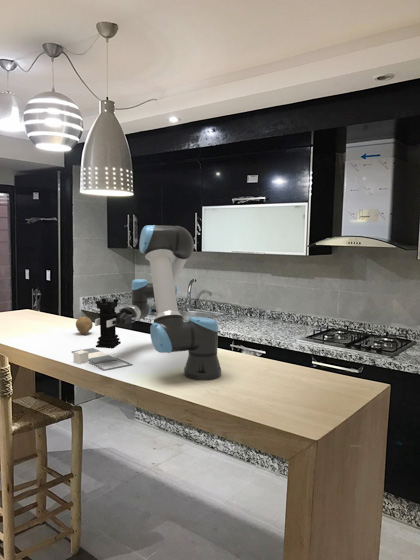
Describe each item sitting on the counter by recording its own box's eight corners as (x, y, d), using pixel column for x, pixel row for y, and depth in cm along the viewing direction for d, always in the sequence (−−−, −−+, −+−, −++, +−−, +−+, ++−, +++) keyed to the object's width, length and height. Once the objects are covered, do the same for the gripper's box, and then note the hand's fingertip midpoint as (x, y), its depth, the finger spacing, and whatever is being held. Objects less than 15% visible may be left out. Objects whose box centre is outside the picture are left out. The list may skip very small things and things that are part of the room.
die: (88, 362, 197) (88, 351, 196) (79, 364, 193) (79, 353, 193) (82, 360, 200) (82, 349, 199) (73, 362, 196) (73, 351, 196)
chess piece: (113, 348, 191) (111, 302, 187) (95, 347, 192) (94, 301, 189) (120, 343, 198) (119, 298, 195) (104, 342, 200) (102, 297, 197)
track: (117, 360, 201) (117, 358, 200) (94, 364, 193) (94, 363, 193) (93, 348, 219) (93, 347, 219) (71, 352, 212) (71, 351, 212)
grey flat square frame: (132, 365, 193) (132, 364, 193) (103, 370, 184) (103, 369, 184) (117, 358, 203) (117, 357, 203) (89, 363, 195) (89, 362, 195)
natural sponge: (82, 331, 256) (82, 314, 255) (96, 333, 253) (95, 315, 252) (72, 334, 247) (72, 317, 246) (86, 336, 244) (85, 318, 243)
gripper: (146, 324, 208) (120, 334, 187) (112, 320, 214) (83, 330, 193) (146, 308, 208) (120, 316, 186) (112, 305, 214) (83, 313, 192)
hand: (101, 323), depth 189 cm, fingers closed on chess piece, 5 cm apart
